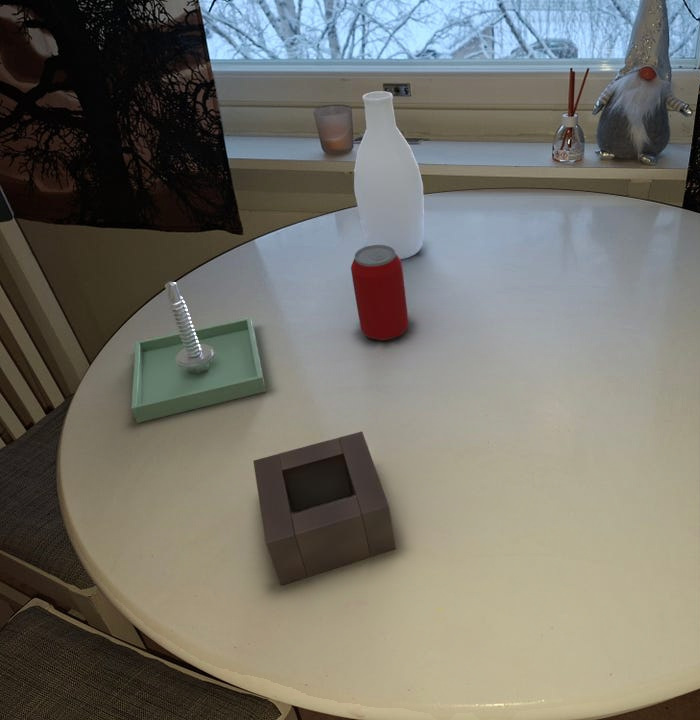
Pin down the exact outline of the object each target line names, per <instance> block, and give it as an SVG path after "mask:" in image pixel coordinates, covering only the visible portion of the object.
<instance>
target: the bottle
mask: <svg viewBox="0 0 700 720" xmlns="http://www.w3.org/2000/svg"><path fill="white" fill-rule="evenodd" d="M393 99H394V95H393V93H392V92H390V91H384V90H378V91H371V92H367V93H364V94H363V95H362V102H363V103H364V104H363V105H364V113H365V114H364V115H365V126H366V127H365V131H364V134H363V137H362V139H361V141H360V144H359V146H358V149H357V152H356V157H355V164H354V168H353V180H354V182H353V191H354V196H355V201H356V206H357V210H358V215H359V220H360V225H361V229H362V232H363V235H364V238H365V240H366V244H367V246H371V245H385V246H389V247H391V248H393V249H394V250H395V253H396V255H397V256H398V257H399V259H400V260H405V259H407V258H410V257H412V256H415V255H416V254H417V253H419V252H420V250H421V248H422V246H423V244H424V243H423V242H424V226H425V201H424V200H425V199H424V183H423V180H422V176H421V172H420V167H419V164H418V162H417V159H416V157H415V154H414V152H413V150H412V147H411V146H410V144H409V143H408V141H407V140H406V138H405V136H404V135H403V134H402V132H401V131H400V129H399V128H398V126H397V123H396V115H395V109H394V104H393Z"/></svg>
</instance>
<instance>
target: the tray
mask: <svg viewBox="0 0 700 720" xmlns="http://www.w3.org/2000/svg"><path fill="white" fill-rule="evenodd" d="M193 329H194V330H195V333H196V337H197V340H198V342H199V344H205V345H209V346H211V347H213V349H214V351H215V356H214V358H213V359H212V360H211V361H210V362H209V369H208V370H206V371H204V372H202V373H200V374H195V373H190V372H189V371H188V368H182V367H179V366H178V365H177V364H176V361H175V358H176V356H177V354H178V353H179V352H180V351H181V350H182V349H184V346H185V345H183V341H181V339H182V338H181V337H180V335H181V334H179V332H174V333H170V334H165V335H161V336H157V337H152V338H147V339H143V340H137V341H135V346H134V360H133V361H134V362H133V376H132V392H131V393H132V394H131V407H130V408H131V411H132V413H133V416H134V418H135V420H136V422H137V423H138V424H139V423H143V422H148V421H151V420H156V419H160V418H163V417H168V416H172V415H176V414H180V413H184V412H188V411H192V410H197V409H201V408H204V407H208V406H209V407H210V406H214V405H217V404H221V403H222V404H223V403H225V402H230V401H233V400H238V399H242V398H246V397H251V396H254V395H257V394H258V395H259V394H263V393H266V392H267V389H266V388H267V387H266V383H265V378H264V373H263V368H262V363H261V358H260V351H259V348H258V342H257V338H256V332H255V327H254V325H253V322H252V317H245V318H240V319H235V320H231V321H226V322H222V323H216V324H213V325H212V324H211V325H207V326H203V327H199V328H193Z"/></svg>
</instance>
